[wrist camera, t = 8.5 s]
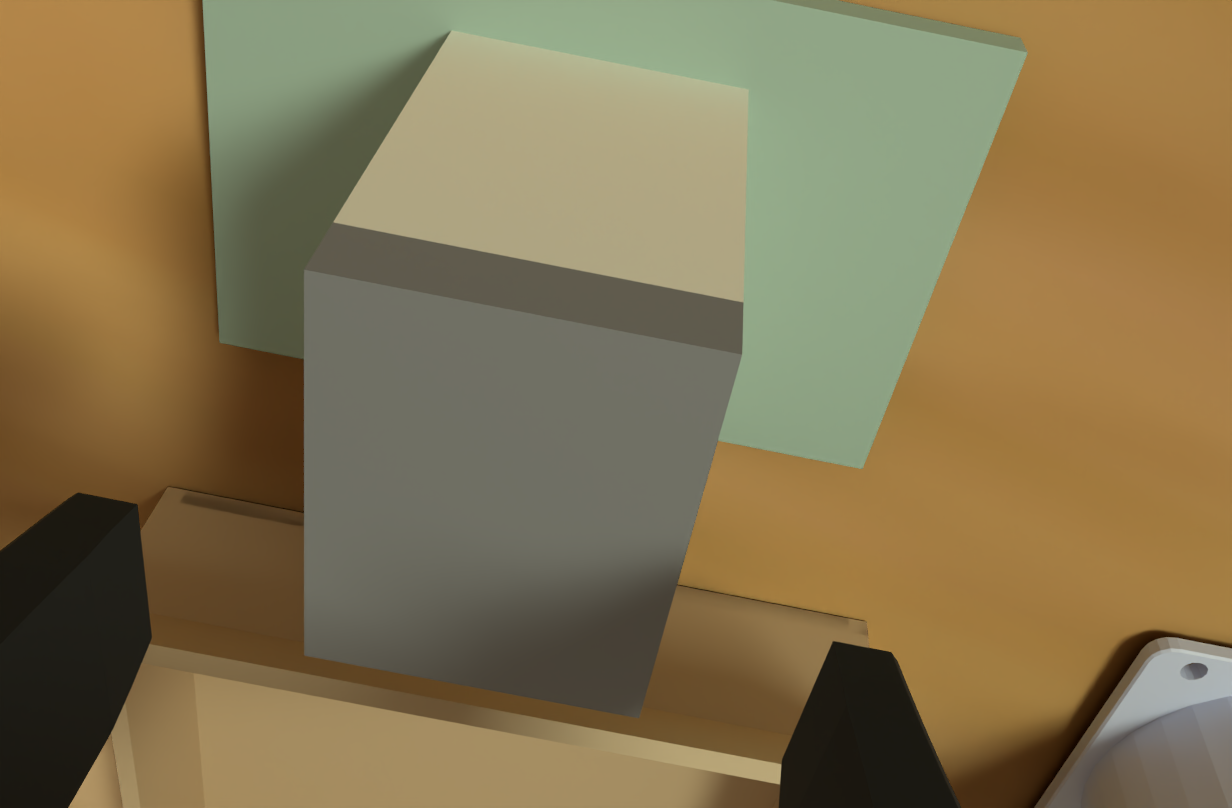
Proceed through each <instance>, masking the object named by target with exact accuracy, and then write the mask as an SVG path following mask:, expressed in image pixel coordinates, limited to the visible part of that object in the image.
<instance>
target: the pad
mask: <svg viewBox="0 0 1232 808" xmlns="http://www.w3.org/2000/svg"><path fill="white" fill-rule="evenodd" d="M203 19H204V39H205V59H206V79H207V100H208V120H209V140H210V160H211V180H212V201H213V221H214V241H215V261H216V281H217V301H218V322H219V342H220V343H223V344H229V345H234V346H239V347H244V348H249V349H254V350H259V351H264V352H269V353H274V354H279V355H284V356H290V357H295V358H300V359H304V269H305V267H306V265H307V264H308V262H309V261H310V259H311V257H312V256H313V254H314V252H315V251H316V249H317V248H318V246H319V244H320V243H321V241H322V239H323V238H324V236H325V235H326V233H327V231H328V230H329V228H330V227H331V225H332V223H333V222H334V220H335V218H336V217H337V215H338V214H339V212H340V210H341V209H342V207H343V205H344V204H345V202H346V201H347V199H348V197H349V196H350V194H351V193H352V191H353V189H354V188H355V186H356V184H357V183H358V181H359V180H360V178H361V176H362V175H363V173H364V171H365V170H366V168H367V167H368V165H369V163H370V162H371V160H372V158H373V157H374V155H375V154H376V152H377V150H378V149H379V147H380V146H381V144H382V142H383V141H384V139H385V137H386V136H387V134H388V133H389V131H390V129H391V128H392V126H393V124H394V123H395V121H396V120H397V118H398V116H399V115H400V113H401V112H402V110H403V108H404V107H405V105H406V103H407V102H408V100H409V99H410V97H411V95H412V94H413V92H414V90H415V89H416V87H417V86H418V84H419V82H420V81H421V79H422V78H423V76H424V74H425V73H426V71H427V69H428V68H429V66H430V65H431V63H432V61H433V60H434V58H435V56H436V55H437V53H438V52H439V50H440V48H441V47H442V45H443V44H444V42H445V40H446V39H447V37H448V35H449V34H450V32H451V31H457V32H462V33H467V34H472V35H477V36H482V37H487V38H492V39H497V40H502V41H507V42H512V43H517V44H522V45H527V46H532V47H537V48H542V49H547V50H553V51H558V52H563V53H568V54H573V55H578V56H583V57H588V58H593V59H598V60H603V61H608V62H613V63H618V64H623V65H628V66H633V67H638V68H643V69H648V70H653V71H658V72H663V73H668V74H673V75H678V76H683V77H688V78H693V79H698V80H703V81H708V82H713V83H719V84H724V85H729V86H734V87H739V88H744V89H749V94H748V136H747V178H746V220H745V262H744V303H743V345H742V357H741V361H740V365H739V368H738V372H737V375H736V379H735V382H734V386H733V389H732V393H731V396H730V400H729V403H728V407H727V410H726V414H725V417H724V421H723V424H722V428H721V431H720V435H719V439H718V441H722V442H727V443H732V444H738V445H743V446H748V447H753V448H758V449H763V450H768V451H773V452H778V453H783V454H788V455H794V456H799V457H804V458H809V459H814V460H819V461H824V462H829V463H834V464H839V465H844V466H850V467H855V468H860V469H863V466H864V464H865V461H866V459H867V456H868V454H869V451H870V449H871V446H872V443H873V441H874V438H875V436H876V433H877V431H878V428H879V426H880V423H881V421H882V418H883V416H884V413H885V411H886V408H887V406H888V403H889V401H890V398H891V396H892V393H893V391H894V388H895V386H896V383H897V381H898V378H899V375H900V373H901V370H902V368H903V365H904V363H905V360H906V358H907V355H908V353H909V350H910V348H911V345H912V343H913V340H914V338H915V335H916V333H917V330H918V328H919V325H920V323H921V320H922V318H923V315H924V313H925V310H926V308H927V305H928V302H929V300H930V297H931V295H932V292H933V290H934V287H935V285H936V282H937V280H938V277H939V275H940V272H941V270H942V267H943V265H944V262H945V260H946V257H947V255H948V252H949V250H950V247H951V245H952V242H953V240H954V237H955V235H956V232H957V229H958V227H959V224H960V222H961V219H962V217H963V214H964V212H965V209H966V207H967V204H968V202H969V199H970V197H971V194H972V192H973V189H974V187H975V184H976V182H977V179H978V177H979V174H980V172H981V169H982V167H983V164H984V161H985V159H986V156H987V154H988V151H989V149H990V146H991V144H992V141H993V139H994V136H995V134H996V131H997V129H998V126H999V124H1000V121H1001V119H1002V116H1003V114H1004V111H1005V109H1006V106H1007V104H1008V101H1009V99H1010V96H1011V94H1012V91H1013V88H1014V86H1015V83H1016V81H1017V78H1018V76H1019V73H1020V71H1021V68H1022V66H1023V63H1024V61H1025V58H1026V56H1027V53H1028V52H1027V50H1026V48H1025V46H1024V44H1023V42H1022V40H1021V38H1018V37H1013V36H1008V35H1004V34H999V33H994V32H989V31H984V30H979V29H974V28H970V27H965V26H960V25H955V24H950V23H945V22H940V21H935V20H931V19H926V18H921V17H916V16H911V15H906V14H901V13H897V12H892V11H887V10H882V9H877V8H872V7H867V6H862V5H858V4H853V3H848V2H843V1H838V0H203Z"/></svg>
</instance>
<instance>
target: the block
mask: <svg viewBox="0 0 1232 808" xmlns="http://www.w3.org/2000/svg"><path fill="white" fill-rule="evenodd" d="M748 94H749V89H744V88H739V87H734V86H729V85H724V84H719V83H713V82H708V81H703V80H698V79H693V78H688V77H683V76H678V75H673V74H668V73H663V72H658V71H653V70H648V69H643V68H638V67H633V66H628V65H623V64H618V63H613V62H608V61H603V60H598V59H593V58H588V57H583V56H578V55H573V54H568V53H563V52H558V51H553V50H547V49H542V48H537V47H532V46H527V45H522V44H517V43H512V42H507V41H502V40H497V39H492V38H487V37H482V36H477V35H472V34H467V33H462V32H457V31H451V32H450V34H449V35H448V37H447V39H446V40H445V42H444V44H443V45H442V47H441V48H440V50H439V52H438V53H437V55H436V56H435V58H434V60H433V61H432V63H431V65H430V66H429V68H428V69H427V71H426V73H425V74H424V76H423V78H422V79H421V81H420V82H419V84H418V86H417V87H416V89H415V90H414V92H413V94H412V95H411V97H410V99H409V100H408V102H407V103H406V105H405V107H404V108H403V110H402V112H401V113H400V115H399V116H398V118H397V120H396V121H395V123H394V124H393V126H392V128H391V129H390V131H389V133H388V134H387V136H386V137H385V139H384V141H383V142H382V144H381V146H380V147H379V149H378V150H377V152H376V154H375V155H374V157H373V158H372V160H371V162H370V163H369V165H368V167H367V168H366V170H365V171H364V173H363V175H362V176H361V178H360V180H359V181H358V183H357V184H356V186H355V188H354V189H353V191H352V193H351V194H350V196H349V197H348V199H347V201H346V202H345V204H344V205H343V207H342V209H341V210H340V212H339V214H338V215H337V217H336V218H335V220H334V222H333V223H332V225H331V227H330V228H329V230H328V231H327V233H326V235H325V236H324V238H323V239H322V241H321V243H320V244H319V246H318V248H317V249H316V251H315V252H314V254H313V256H312V257H311V259H310V261H309V262H308V264H307V265H306V267H305V269H304V656H309V657H315V658H320V659H325V660H330V661H336V662H341V663H346V664H352V665H357V666H362V667H368V668H373V669H378V670H384V671H389V672H394V673H400V674H405V675H410V676H416V677H421V678H426V679H432V680H437V681H442V682H448V683H453V684H458V685H464V686H469V687H474V688H480V689H485V690H490V691H496V692H501V693H506V694H512V695H517V696H522V697H528V698H533V699H538V700H544V701H549V702H554V703H560V704H565V705H570V706H576V707H581V708H586V709H592V710H597V711H602V712H608V713H613V714H618V715H624V716H629V717H634V718H639V717H640V713H641V710H642V706H643V703H644V699H645V696H646V692H647V689H648V685H649V682H650V678H651V675H652V671H653V668H654V664H655V661H656V657H657V653H658V650H659V646H660V643H661V639H662V636H663V632H664V629H665V625H666V622H667V618H668V615H669V611H670V608H671V604H672V601H673V597H674V594H675V590H676V587H677V583H678V579H679V576H680V572H681V569H682V565H683V562H684V558H685V555H686V551H687V548H688V544H689V541H690V537H691V534H692V530H693V527H694V523H695V520H696V516H697V513H698V509H699V505H700V502H701V498H702V495H703V491H704V488H705V484H706V481H707V477H708V474H709V470H710V467H711V463H712V460H713V456H714V453H715V449H716V446H717V442H718V439H719V435H720V431H721V428H722V424H723V421H724V417H725V414H726V410H727V407H728V403H729V400H730V396H731V393H732V389H733V386H734V382H735V379H736V375H737V372H738V368H739V365H740V361H741V357H742V345H743V303H744V262H745V220H746V178H747V136H748Z"/></svg>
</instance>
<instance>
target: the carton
mask: <svg viewBox="0 0 1232 808" xmlns="http://www.w3.org/2000/svg"><path fill="white" fill-rule="evenodd" d="M140 532H141V542H142V551H143V560H144V569H145V578H146V587H147V596H148V605H149V614H150V623H151V632H152V639H151V642H150V644H149V647H148V649H147V651H146V654H145V656H144V659H143V661H142V663H141V666H140V668H139V671H138V673H137V676H136V678H135V680H134V683H133V685H132V688H131V690H130V692H129V694H128V697H127V699H126V701H125V703H124V706H123V708H122V710H121V712H120V715H119V717H118V719H117V721H116V724H115V726H114V728H113V730H112V732H111V736H112V742H113V748H114V755H115V761H116V767H117V773H118V780H119V786H120V792H121V798H122V805H123V808H779V794H780V778H781V763H782V758H783V756H784V753H785V751H786V749H787V746H788V744H789V742H790V739H791V737H792V735H793V732H794V730H795V728H796V726H797V723H798V721H799V719H800V716H801V714H802V712H803V709H804V707H805V705H806V702H807V700H808V698H809V695H810V693H811V691H812V688H813V686H814V684H815V682H816V679H817V677H818V675H819V672H820V670H821V668H822V665H823V663H824V661H825V658H826V656H827V654H828V651H829V649H830V647H831V644H832V642H833V641H836V642H842V643H847V644H852V645H857V646H862V647H867V648H869V640H868V629H867V622H865V621H860V620H855V619H849V618H844V617H839V616H834V615H829V614H823V613H818V612H813V611H808V610H803V609H798V608H792V607H787V606H782V605H777V604H772V603H767V602H761V601H756V600H751V599H746V598H741V597H736V596H730V595H725V594H720V593H715V592H710V591H705V590H699V589H694V588H689V587H684V586H679V585H677V587H676V590H675V594H674V597H673V601H672V604H671V608H670V611H669V615H668V618H667V622H666V625H665V629H664V632H663V636H662V639H661V643H660V646H659V650H658V653H657V657H656V661H655V664H654V668H653V671H652V675H651V678H650V682H649V685H648V689H647V692H646V696H645V699H644V703H643V706H642V710H641V713H640V717H639V718H634V717H629V716H624V715H618V714H613V713H608V712H602V711H597V710H592V709H586V708H581V707H576V706H570V705H565V704H560V703H554V702H549V701H544V700H538V699H533V698H528V697H522V696H517V695H512V694H506V693H501V692H496V691H490V690H485V689H480V688H474V687H469V686H464V685H458V684H453V683H448V682H442V681H437V680H432V679H426V678H421V677H416V676H410V675H405V674H400V673H394V672H389V671H384V670H378V669H373V668H368V667H362V666H357V665H352V664H346V663H341V662H336V661H330V660H325V659H320V658H315V657H309V656H304V513H301V512H296V511H291V510H286V509H281V508H276V507H270V506H265V505H260V504H255V503H250V502H245V501H239V500H234V499H229V498H224V497H219V496H214V495H208V494H203V493H198V492H193V491H188V490H183V489H177V488H172V487H167V489H166V491H165V492H164V494H163V496H162V497H161V499H160V500H159V502H158V504H157V505H156V507H155V508H154V510H153V512H152V513H151V515H150V517H149V518H148V520H147V521H146V523H145V525H144V526H143V528H142V529H141V531H140Z"/></svg>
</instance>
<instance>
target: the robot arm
mask: <svg viewBox="0 0 1232 808" xmlns="http://www.w3.org/2000/svg"><path fill="white" fill-rule="evenodd" d="M151 639H152V632H151V623H150V614H149V605H148V596H147V587H146V578H145V569H144V560H143V551H142V542H141V532H140V523H139V514H138V505H137V504H133V503H128V502H123V501H118V500H113V499H108V498H103V497H98V496H93V495H88V494H82V493H77V494H75V495H73V496H72V497H70V498H69V499H67V500H66V501H65V502H63V503H62V504H61V505H59V506H58V507H57V508H55V509H54V510H53V511H51V512H50V513H49V514H47V515H46V516H45V517H43V518H42V519H41V520H40V521H38V522H37V523H36V524H34V525H33V526H32V527H30V528H29V529H28V530H27V531H25V532H24V533H23V534H21V535H20V536H19V537H17V538H16V539H15V540H14V541H12V542H11V543H10V544H8V545H7V546H6V547H5V548H3V549H2V550H1V551H0V808H68V807H69V805H70V804H71V802H72V800H73V798H74V797H75V795H76V793H77V791H78V790H79V788H80V786H81V785H82V783H83V781H84V779H85V778H86V776H87V774H88V772H89V771H90V769H91V767H92V765H93V764H94V762H95V760H96V758H97V757H98V755H99V753H100V751H101V750H102V748H103V746H104V744H105V743H106V741H107V739H108V737H109V735H110V734H111V732H112V730H113V728H114V726H115V724H116V721H117V719H118V717H119V715H120V712H121V710H122V708H123V706H124V703H125V701H126V699H127V697H128V694H129V692H130V690H131V688H132V685H133V683H134V680H135V678H136V676H137V673H138V671H139V668H140V666H141V663H142V661H143V659H144V656H145V654H146V651H147V649H148V647H149V644H150V642H151ZM1191 663H1193V664H1191ZM1188 664H1190V665H1188ZM779 808H961V806H960V804H959V802H958V800H957V798H956V796H955V793H954V791H953V789H952V787H951V785H950V783H949V781H948V778H947V776H946V774H945V772H944V770H943V767H942V765H941V763H940V761H939V758H938V756H937V754H936V752H935V749H934V747H933V745H932V743H931V740H930V738H929V736H928V734H927V731H926V729H925V727H924V724H923V722H922V720H921V717H920V715H919V712H918V710H917V708H916V705H915V703H914V701H913V698H912V696H911V693H910V691H909V688H908V686H907V684H906V681H905V679H904V676H903V674H902V671H901V669H900V666H899V664H898V661H897V660H896V659H895V657H894V656H893V654H892V653H891V652H887V651H882V650H877V649H872V648H867V647H862V646H857V645H852V644H847V643H842V642H836V641H833V642H832V644H831V647H830V649H829V651H828V654H827V656H826V658H825V661H824V663H823V665H822V668H821V670H820V672H819V675H818V677H817V679H816V682H815V684H814V686H813V688H812V691H811V693H810V695H809V698H808V700H807V702H806V705H805V707H804V709H803V712H802V714H801V716H800V719H799V721H798V723H797V726H796V728H795V730H794V732H793V735H792V737H791V739H790V742H789V744H788V746H787V749H786V751H785V753H784V756H783V758H782V763H781V778H780V794H779ZM1034 808H1232V648H1227V647H1221V646H1216V645H1211V644H1206V643H1201V642H1196V641H1191V640H1185V639H1180V638H1174V637H1164V638H1158V639H1155V640H1153V641H1151V642H1149V643H1148V644H1147V645H1146V646H1145V647H1144V648H1143V649H1142V650H1141V651H1140V653H1139V654H1138V656H1137V657H1136V659H1135V660H1134V662H1133V663H1132V665H1131V666H1130V668H1129V669H1128V670H1127V672H1126V673H1125V675H1124V676H1123V678H1122V679H1121V681H1120V682H1119V684H1118V685H1117V687H1116V688H1115V690H1114V691H1113V693H1112V694H1111V696H1110V697H1109V698H1108V700H1107V701H1106V703H1105V704H1104V706H1103V707H1102V709H1101V710H1100V712H1099V713H1098V715H1097V716H1096V718H1095V719H1094V721H1093V722H1092V723H1091V725H1090V726H1089V728H1088V729H1087V731H1086V732H1085V734H1084V735H1083V737H1082V738H1081V740H1080V741H1079V743H1078V744H1077V746H1076V747H1075V749H1074V750H1073V751H1072V753H1071V754H1070V756H1069V757H1068V759H1067V760H1066V762H1065V763H1064V765H1063V766H1062V768H1061V769H1060V771H1059V772H1058V774H1057V775H1056V776H1055V778H1054V779H1053V781H1052V782H1051V784H1050V785H1049V787H1048V788H1047V790H1046V791H1045V793H1044V794H1043V796H1042V797H1041V799H1040V800H1039V802H1038V803H1037V804H1036V806H1035V807H1034Z"/></svg>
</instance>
